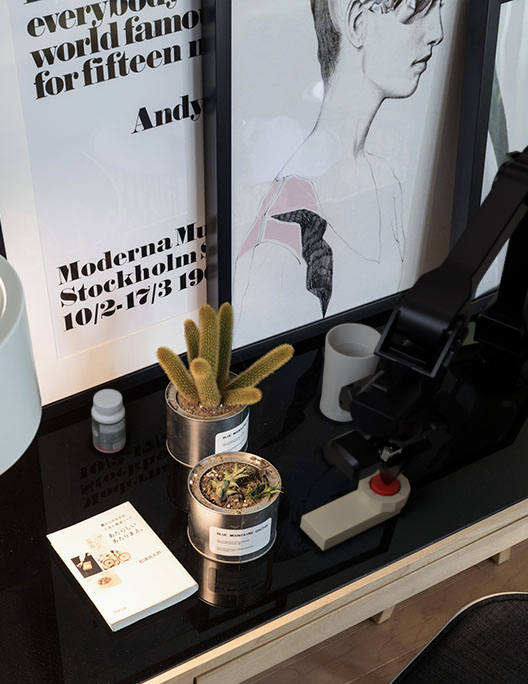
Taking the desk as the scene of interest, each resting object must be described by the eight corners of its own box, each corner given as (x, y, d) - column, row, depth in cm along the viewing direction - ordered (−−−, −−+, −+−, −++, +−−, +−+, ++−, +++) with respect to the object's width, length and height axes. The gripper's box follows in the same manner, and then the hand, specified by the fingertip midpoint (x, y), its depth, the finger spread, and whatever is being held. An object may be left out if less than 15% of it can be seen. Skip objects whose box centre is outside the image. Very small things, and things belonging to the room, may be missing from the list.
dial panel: (464, 331, 151) (469, 314, 149) (488, 362, 146) (494, 345, 144) (376, 347, 149) (380, 331, 147) (398, 380, 144) (402, 363, 142)
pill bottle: (93, 432, 138) (90, 386, 132) (125, 431, 138) (124, 386, 132) (93, 454, 136) (90, 409, 129) (125, 453, 136) (124, 408, 129)
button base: (382, 482, 131) (388, 461, 128) (413, 511, 127) (420, 490, 124) (296, 523, 127) (300, 502, 123) (326, 554, 123) (331, 534, 120)
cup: (366, 391, 143) (382, 324, 133) (369, 426, 138) (386, 359, 128) (313, 388, 143) (325, 321, 134) (314, 424, 139) (326, 357, 129)
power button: (384, 480, 128) (387, 469, 126) (402, 496, 126) (405, 485, 124) (363, 490, 127) (366, 479, 125) (380, 506, 125) (383, 495, 123)
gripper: (425, 328, 120) (400, 422, 132) (307, 378, 114) (292, 471, 126) (488, 376, 114) (455, 470, 126) (366, 431, 108) (344, 524, 120)
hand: (385, 482), depth 125 cm, fingers closed, pressing on power button
